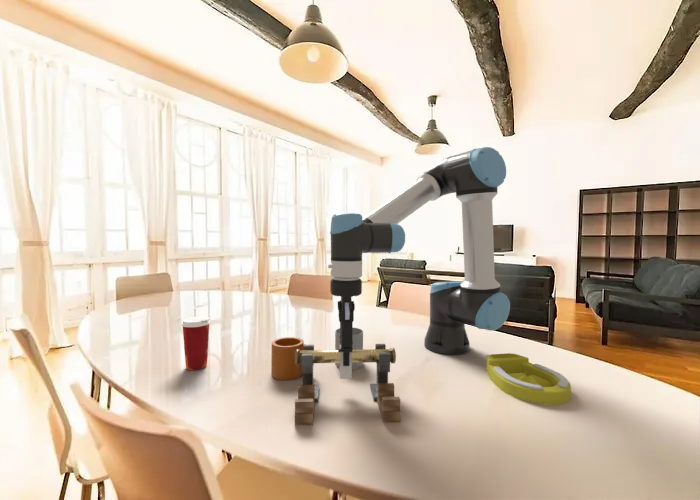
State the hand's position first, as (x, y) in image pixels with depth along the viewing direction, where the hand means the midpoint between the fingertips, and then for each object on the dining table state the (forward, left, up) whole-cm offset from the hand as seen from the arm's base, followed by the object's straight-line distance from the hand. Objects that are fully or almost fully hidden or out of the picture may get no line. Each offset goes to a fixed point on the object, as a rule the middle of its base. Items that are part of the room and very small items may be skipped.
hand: (345, 374), depth 77 cm
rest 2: (-9, +9, -5) cm, 13 cm away
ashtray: (-47, -3, -6) cm, 48 cm away
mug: (+14, -12, -5) cm, 20 cm away
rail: (0, 0, +3) cm, 3 cm away
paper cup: (+43, -19, -5) cm, 47 cm away
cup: (-2, -19, -5) cm, 20 cm away
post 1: (+9, 0, -5) cm, 10 cm away
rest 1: (+9, +9, -5) cm, 13 cm away
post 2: (-9, 0, -5) cm, 10 cm away
